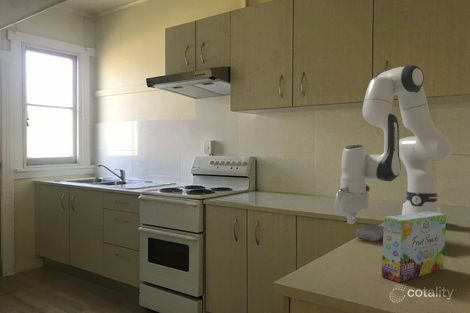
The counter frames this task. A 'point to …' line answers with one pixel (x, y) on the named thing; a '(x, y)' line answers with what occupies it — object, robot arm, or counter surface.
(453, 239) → the counter surface
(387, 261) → the snack box
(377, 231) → the stone block
